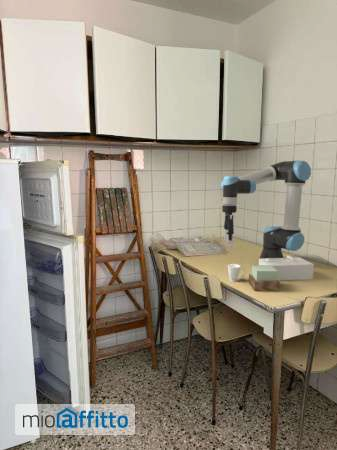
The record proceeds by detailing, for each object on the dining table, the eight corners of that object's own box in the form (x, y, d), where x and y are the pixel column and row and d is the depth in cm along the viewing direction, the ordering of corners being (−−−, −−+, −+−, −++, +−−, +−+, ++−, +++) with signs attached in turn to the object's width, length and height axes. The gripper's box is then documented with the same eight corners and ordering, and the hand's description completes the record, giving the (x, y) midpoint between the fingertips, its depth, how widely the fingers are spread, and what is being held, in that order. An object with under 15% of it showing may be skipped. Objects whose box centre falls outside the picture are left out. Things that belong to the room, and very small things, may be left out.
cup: (224, 278, 169) (225, 264, 168) (241, 277, 171) (242, 263, 170) (229, 282, 162) (230, 267, 161) (247, 281, 164) (248, 266, 163)
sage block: (270, 274, 161) (271, 265, 160) (277, 281, 151) (277, 271, 150) (251, 274, 161) (251, 265, 160) (256, 280, 151) (257, 271, 151)
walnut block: (271, 283, 162) (272, 274, 161) (279, 291, 150) (279, 282, 150) (248, 283, 163) (249, 274, 162) (254, 291, 151) (254, 281, 150)
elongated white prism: (312, 279, 168) (314, 260, 167) (269, 281, 165) (270, 261, 164) (298, 271, 183) (299, 253, 181) (258, 272, 180) (259, 254, 178)
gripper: (220, 202, 178) (218, 238, 181) (225, 207, 153) (223, 248, 157) (233, 203, 178) (231, 239, 181) (240, 207, 153) (238, 248, 156)
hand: (228, 243), depth 169 cm, fingers open, 13 cm apart
